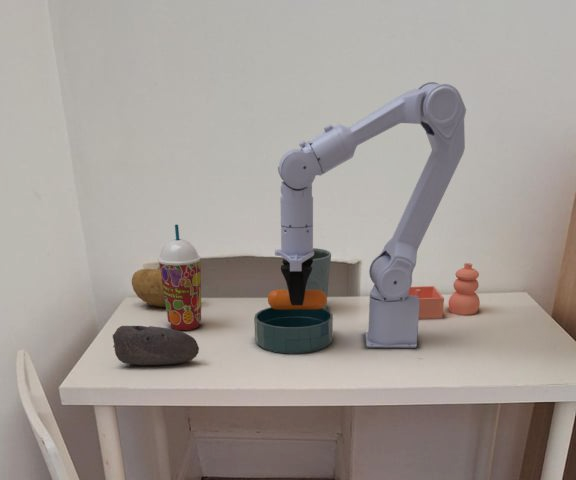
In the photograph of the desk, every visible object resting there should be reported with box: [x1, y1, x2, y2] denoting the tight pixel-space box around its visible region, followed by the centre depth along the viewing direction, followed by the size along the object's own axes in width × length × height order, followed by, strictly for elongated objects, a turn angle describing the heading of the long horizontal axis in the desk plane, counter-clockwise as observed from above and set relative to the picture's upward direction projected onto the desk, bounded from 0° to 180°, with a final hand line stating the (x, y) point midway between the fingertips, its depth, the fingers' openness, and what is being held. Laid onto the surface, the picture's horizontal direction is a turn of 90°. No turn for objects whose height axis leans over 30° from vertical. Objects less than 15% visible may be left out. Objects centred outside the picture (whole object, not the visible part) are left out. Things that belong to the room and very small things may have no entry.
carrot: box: [267, 289, 328, 310], centre depth 139 cm, size 11×4×4 cm, turn 87°
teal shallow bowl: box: [253, 306, 334, 355], centre depth 145 cm, size 15×15×5 cm
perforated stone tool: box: [112, 325, 200, 366], centre depth 134 cm, size 15×5×7 cm, turn 88°
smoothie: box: [157, 224, 202, 331], centre depth 150 cm, size 8×8×20 cm
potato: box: [131, 268, 166, 308], centre depth 166 cm, size 10×14×8 cm
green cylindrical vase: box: [285, 247, 332, 310], centre depth 161 cm, size 10×10×12 cm
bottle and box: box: [408, 262, 481, 320], centre depth 159 cm, size 18×10×10 cm, turn 93°
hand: (297, 301), depth 140 cm, fingers closed on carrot, 3 cm apart
